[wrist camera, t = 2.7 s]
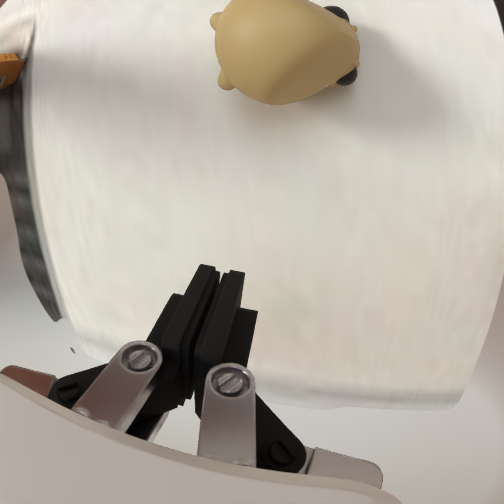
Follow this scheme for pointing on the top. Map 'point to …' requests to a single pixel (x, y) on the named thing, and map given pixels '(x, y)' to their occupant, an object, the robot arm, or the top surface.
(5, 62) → the pancake mix bag
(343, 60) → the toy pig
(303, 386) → the top surface
